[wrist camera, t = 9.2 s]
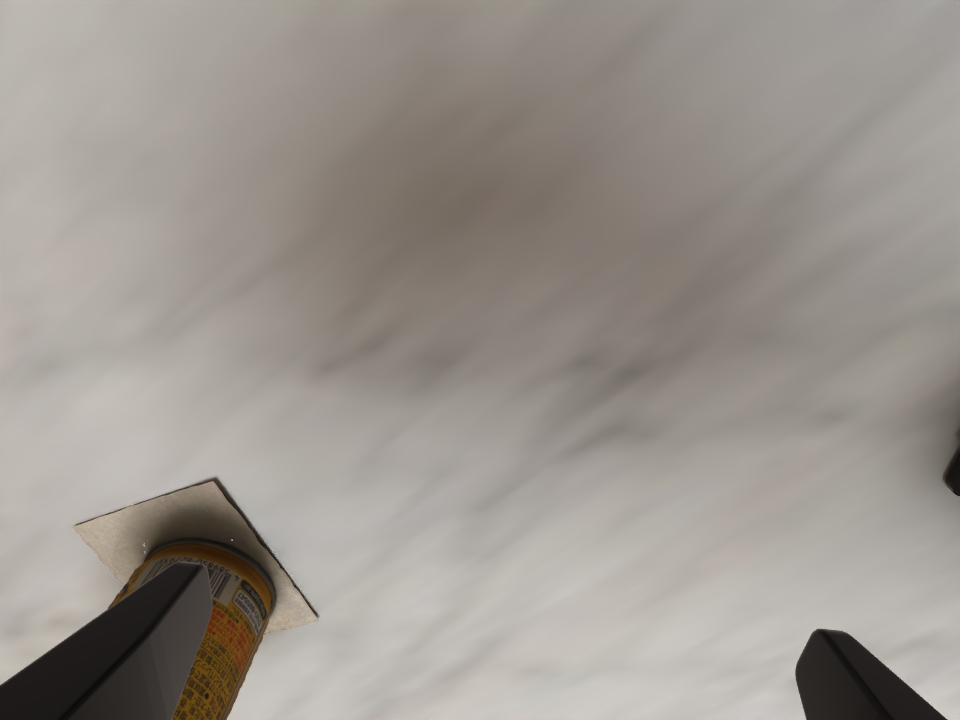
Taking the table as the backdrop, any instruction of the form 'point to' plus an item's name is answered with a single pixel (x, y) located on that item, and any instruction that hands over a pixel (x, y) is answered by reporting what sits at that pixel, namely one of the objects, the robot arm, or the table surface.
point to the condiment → (232, 574)
